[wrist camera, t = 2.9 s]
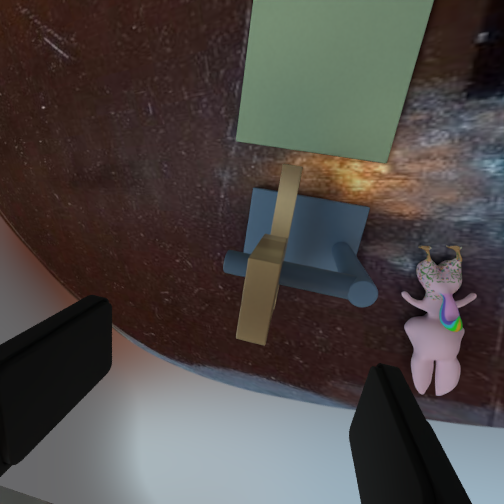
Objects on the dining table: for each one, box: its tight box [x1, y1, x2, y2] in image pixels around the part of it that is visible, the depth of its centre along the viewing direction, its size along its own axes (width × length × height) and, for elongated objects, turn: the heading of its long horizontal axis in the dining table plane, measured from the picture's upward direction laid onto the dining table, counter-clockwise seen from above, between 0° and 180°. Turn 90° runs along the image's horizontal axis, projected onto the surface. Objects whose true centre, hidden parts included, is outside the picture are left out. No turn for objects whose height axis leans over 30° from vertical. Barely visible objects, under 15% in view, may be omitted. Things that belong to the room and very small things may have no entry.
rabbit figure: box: [402, 245, 477, 396], centre depth 25 cm, size 6×6×15 cm
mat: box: [236, 0, 434, 163], centre depth 22 cm, size 20×14×1 cm
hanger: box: [236, 164, 303, 345], centre depth 19 cm, size 13×2×12 cm, turn 171°
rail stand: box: [223, 187, 378, 307], centre depth 22 cm, size 9×11×11 cm
